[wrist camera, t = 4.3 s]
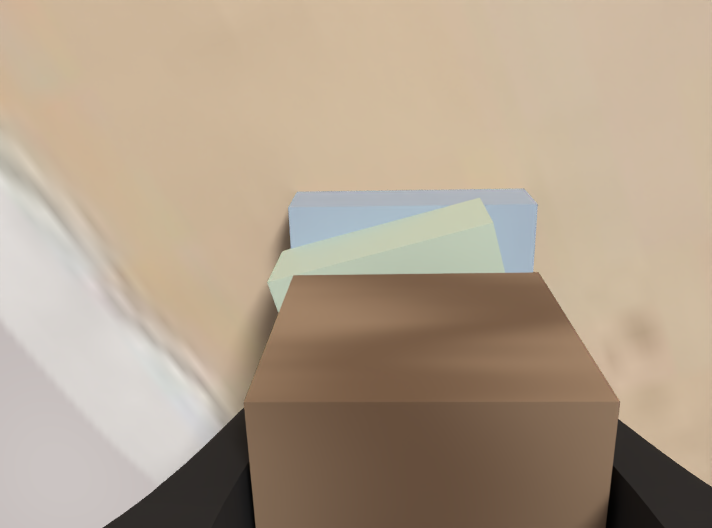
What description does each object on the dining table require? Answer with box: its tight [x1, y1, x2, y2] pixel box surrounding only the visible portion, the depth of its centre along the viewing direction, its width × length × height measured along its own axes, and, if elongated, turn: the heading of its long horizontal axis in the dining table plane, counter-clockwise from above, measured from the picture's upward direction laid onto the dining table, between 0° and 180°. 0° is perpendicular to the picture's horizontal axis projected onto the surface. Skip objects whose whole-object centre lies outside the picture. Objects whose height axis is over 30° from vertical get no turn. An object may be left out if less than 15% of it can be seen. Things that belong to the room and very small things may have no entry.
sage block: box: [267, 198, 505, 313], centre depth 16 cm, size 5×5×2 cm
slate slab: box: [288, 189, 538, 273], centre depth 18 cm, size 6×6×2 cm
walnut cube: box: [244, 272, 620, 528], centre depth 11 cm, size 4×4×4 cm
